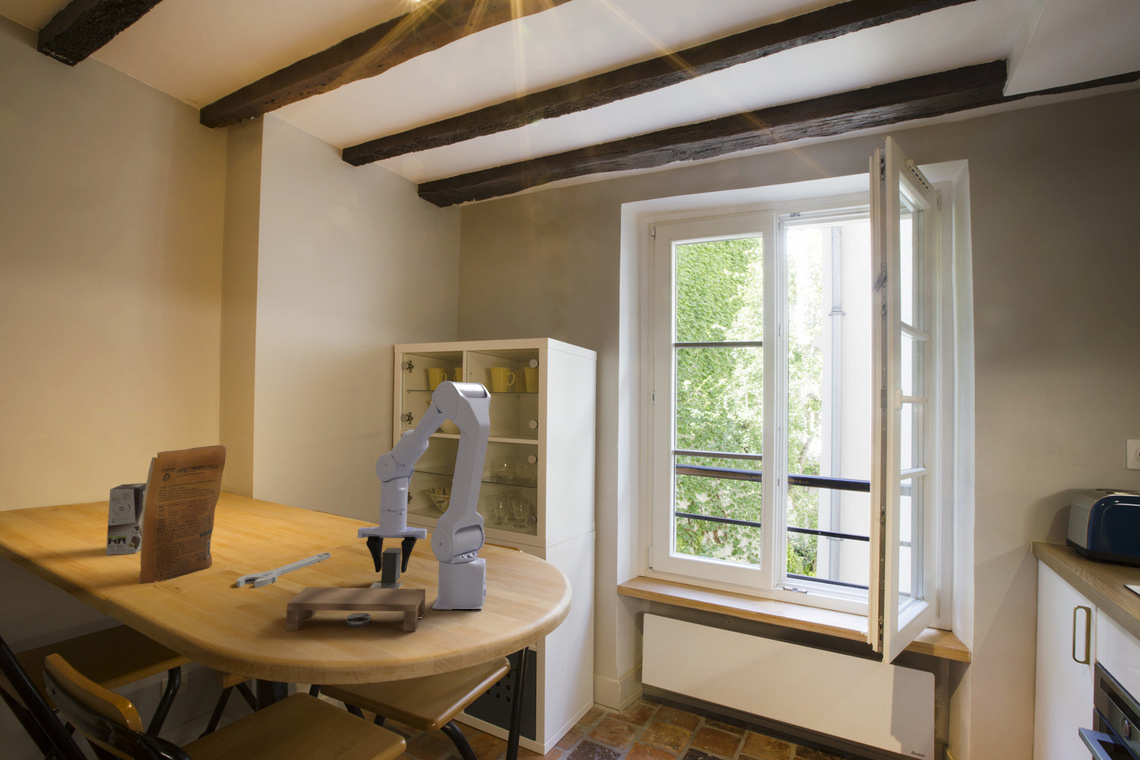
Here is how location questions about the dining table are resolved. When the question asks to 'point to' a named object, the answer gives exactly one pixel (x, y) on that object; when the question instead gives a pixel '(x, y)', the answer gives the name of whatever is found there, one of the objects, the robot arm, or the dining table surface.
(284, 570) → the adjustable wrench
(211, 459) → the pancake mix bag
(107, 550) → the coffee box
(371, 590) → the walnut shelf
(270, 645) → the dining table surface
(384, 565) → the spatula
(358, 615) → the steel disc
